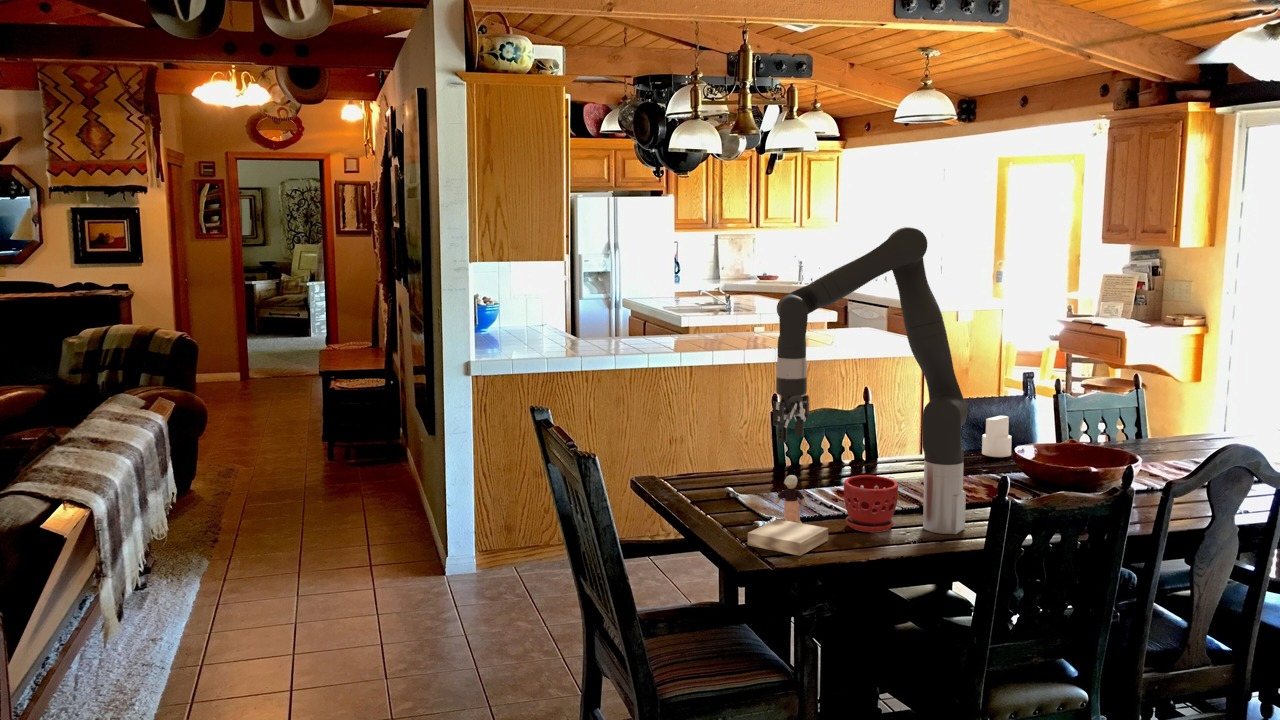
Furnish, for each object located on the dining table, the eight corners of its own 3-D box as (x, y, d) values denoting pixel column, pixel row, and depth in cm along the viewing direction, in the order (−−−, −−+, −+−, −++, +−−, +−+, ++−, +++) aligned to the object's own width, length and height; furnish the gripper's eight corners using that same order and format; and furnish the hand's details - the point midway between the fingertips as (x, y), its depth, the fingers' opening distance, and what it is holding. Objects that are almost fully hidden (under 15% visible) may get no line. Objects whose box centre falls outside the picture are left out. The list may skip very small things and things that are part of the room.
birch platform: (828, 540, 245) (828, 528, 245) (800, 555, 234) (800, 543, 234) (777, 530, 254) (777, 519, 253) (747, 545, 243) (747, 532, 242)
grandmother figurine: (805, 522, 261) (805, 473, 259) (806, 526, 257) (806, 477, 255) (775, 521, 261) (775, 473, 260) (775, 526, 258) (775, 476, 256)
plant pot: (833, 528, 255) (833, 481, 253) (862, 517, 264) (863, 472, 262) (878, 539, 245) (879, 490, 244) (907, 527, 255) (908, 480, 253)
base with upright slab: (991, 449, 340) (992, 414, 338) (1016, 454, 333) (1017, 417, 331) (976, 453, 334) (977, 417, 332) (1001, 458, 327) (1002, 421, 326)
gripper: (790, 380, 246) (790, 446, 249) (818, 372, 258) (817, 436, 260) (763, 377, 251) (763, 442, 253) (792, 370, 262) (791, 432, 264)
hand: (791, 439), depth 256 cm, fingers open, 8 cm apart
